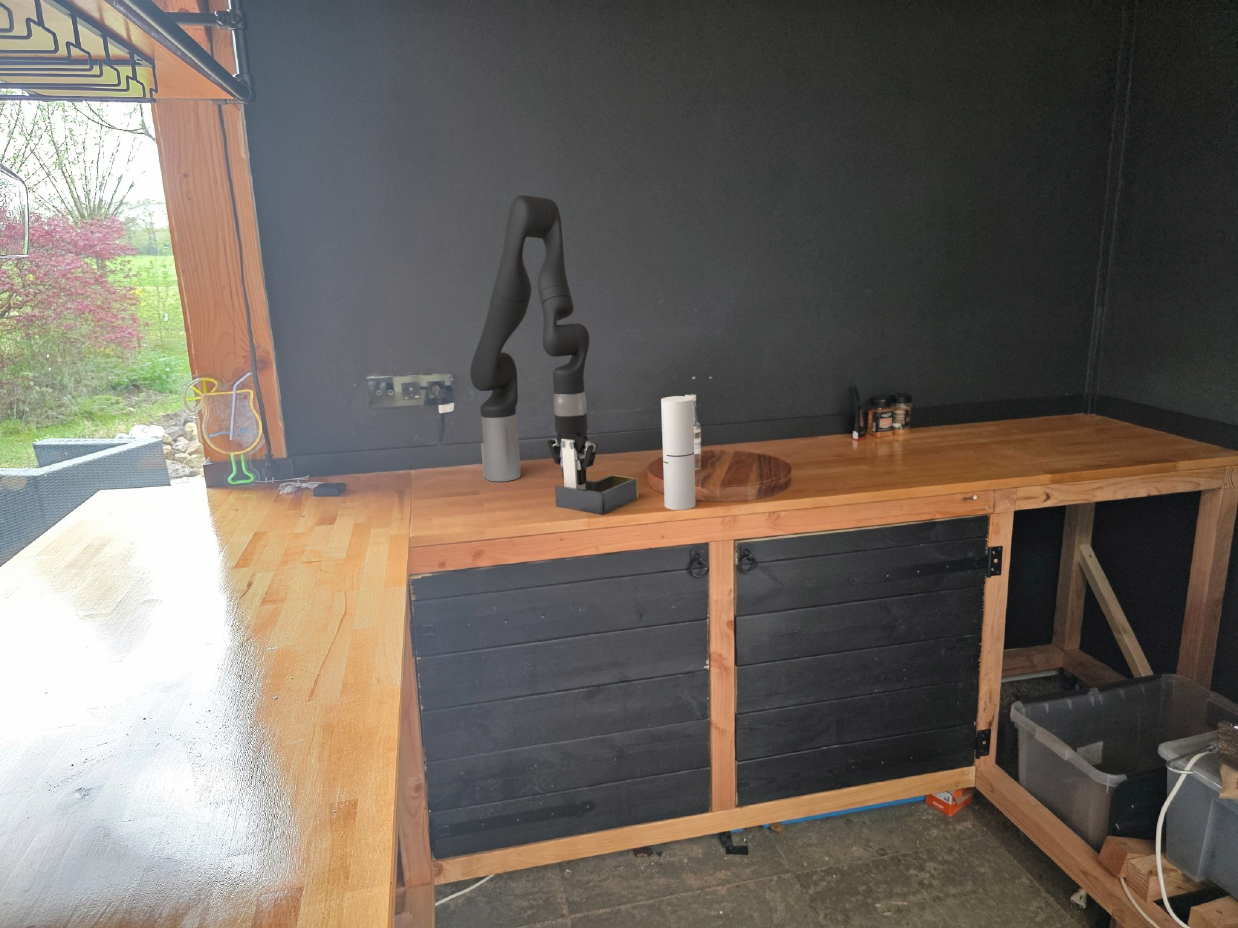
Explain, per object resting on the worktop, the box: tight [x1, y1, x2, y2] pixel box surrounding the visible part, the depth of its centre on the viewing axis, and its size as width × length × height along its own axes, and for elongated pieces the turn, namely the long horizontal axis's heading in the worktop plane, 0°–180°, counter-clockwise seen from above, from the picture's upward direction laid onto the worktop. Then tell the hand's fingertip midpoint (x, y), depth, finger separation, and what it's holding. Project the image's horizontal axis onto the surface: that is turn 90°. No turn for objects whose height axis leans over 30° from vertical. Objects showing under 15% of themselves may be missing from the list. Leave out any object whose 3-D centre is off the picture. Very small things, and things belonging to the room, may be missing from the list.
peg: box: [561, 439, 586, 490], centre depth 198 cm, size 4×4×16 cm
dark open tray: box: [554, 474, 640, 516], centre depth 200 cm, size 14×14×5 cm
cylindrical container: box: [660, 395, 696, 511], centre depth 192 cm, size 7×7×25 cm
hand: (574, 482), depth 199 cm, fingers closed on peg, 3 cm apart
